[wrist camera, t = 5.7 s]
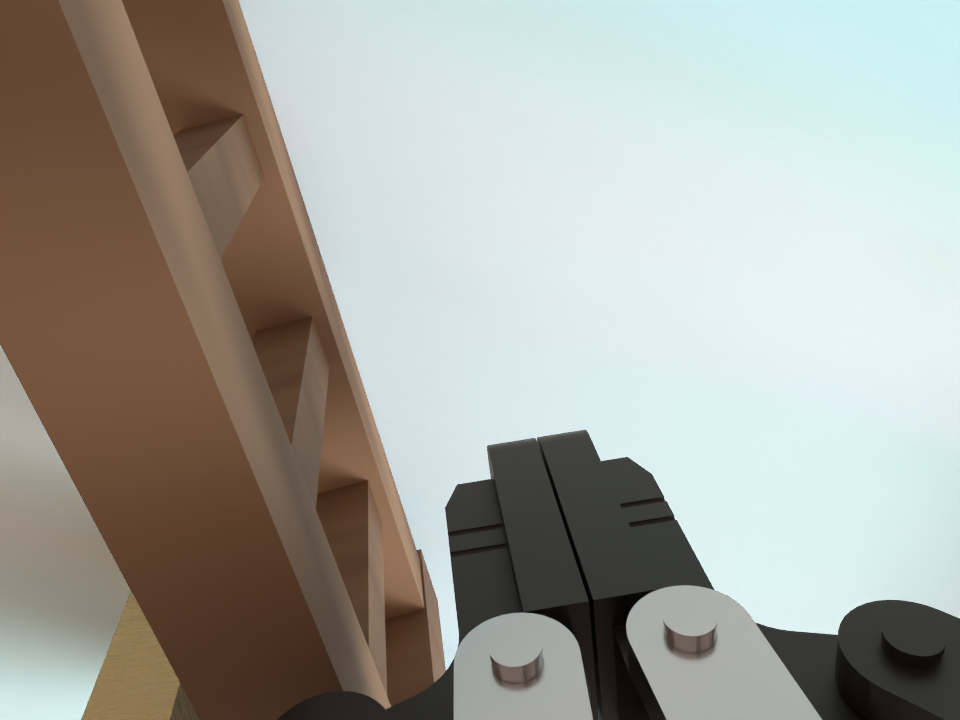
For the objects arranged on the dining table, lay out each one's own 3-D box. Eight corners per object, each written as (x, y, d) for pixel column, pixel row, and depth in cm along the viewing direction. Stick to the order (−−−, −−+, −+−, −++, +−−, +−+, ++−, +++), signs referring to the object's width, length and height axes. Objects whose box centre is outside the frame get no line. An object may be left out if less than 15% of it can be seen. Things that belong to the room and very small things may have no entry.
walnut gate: (92, -141, 13) (-387, -367, 5) (192, -165, 13) (-111, -432, 5) (373, 617, 20) (377, 1062, 12) (437, 600, 20) (487, 1031, 12)
